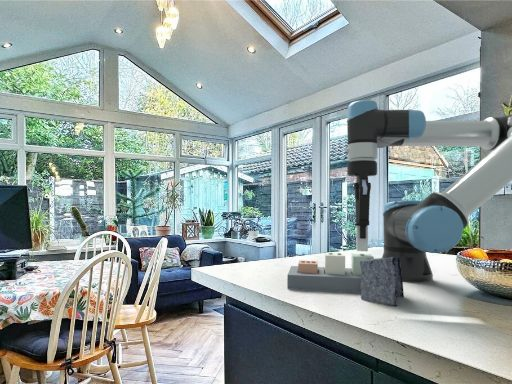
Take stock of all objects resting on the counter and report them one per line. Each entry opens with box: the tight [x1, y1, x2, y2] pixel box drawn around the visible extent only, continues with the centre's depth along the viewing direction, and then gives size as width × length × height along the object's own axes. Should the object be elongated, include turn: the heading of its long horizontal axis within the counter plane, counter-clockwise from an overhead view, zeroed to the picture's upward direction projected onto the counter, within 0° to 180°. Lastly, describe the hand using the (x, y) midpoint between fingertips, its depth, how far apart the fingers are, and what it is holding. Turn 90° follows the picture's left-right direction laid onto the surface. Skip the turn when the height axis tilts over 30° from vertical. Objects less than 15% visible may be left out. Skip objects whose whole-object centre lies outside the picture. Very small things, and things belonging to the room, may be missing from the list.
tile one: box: [351, 253, 375, 275], centre depth 91 cm, size 5×5×5 cm
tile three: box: [297, 259, 319, 274], centre depth 93 cm, size 5×5×5 cm
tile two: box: [324, 252, 346, 275], centre depth 92 cm, size 5×5×5 cm
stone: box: [360, 257, 405, 307], centre depth 80 cm, size 12×10×10 cm
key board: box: [286, 265, 362, 294], centre depth 92 cm, size 24×12×4 cm, turn 80°
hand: (362, 250), depth 91 cm, fingers closed
